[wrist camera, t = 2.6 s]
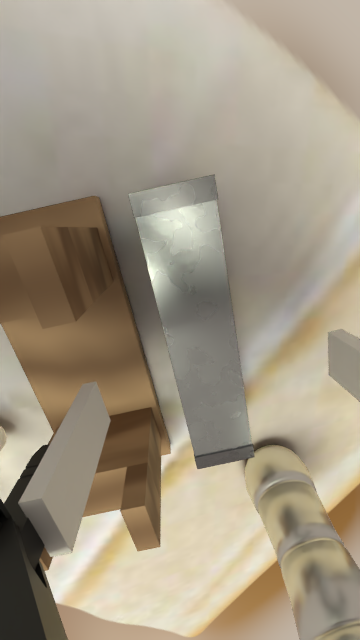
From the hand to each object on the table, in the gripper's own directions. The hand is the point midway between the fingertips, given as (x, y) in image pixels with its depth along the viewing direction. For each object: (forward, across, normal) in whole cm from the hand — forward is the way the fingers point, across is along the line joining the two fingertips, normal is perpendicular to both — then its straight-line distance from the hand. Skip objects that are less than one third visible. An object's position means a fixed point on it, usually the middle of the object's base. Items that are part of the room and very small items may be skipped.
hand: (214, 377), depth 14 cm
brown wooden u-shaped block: (+9, -10, -1) cm, 13 cm away
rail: (+9, 0, 0) cm, 9 cm away
